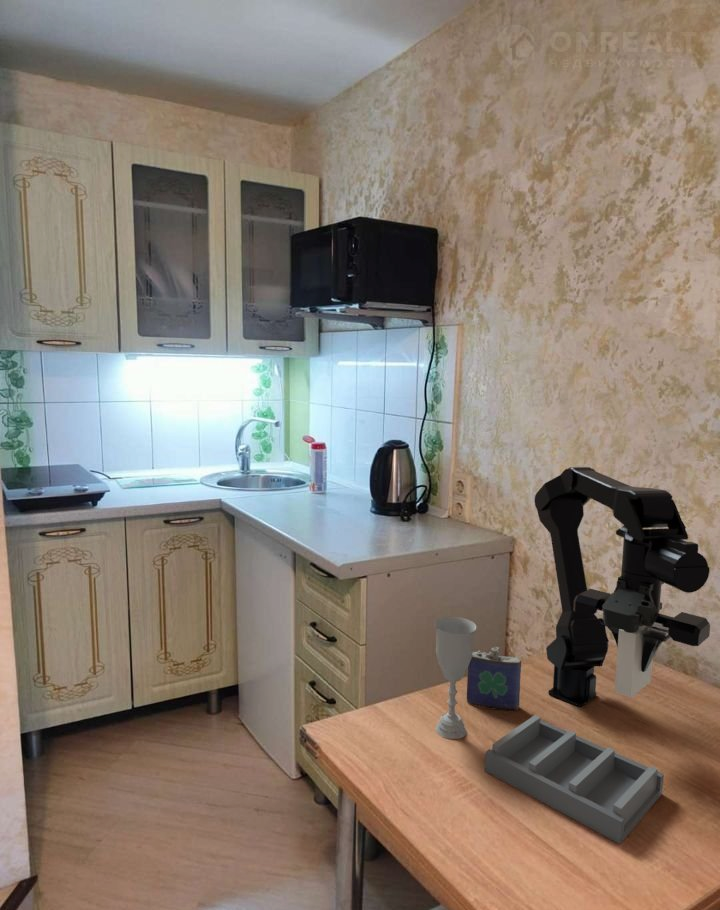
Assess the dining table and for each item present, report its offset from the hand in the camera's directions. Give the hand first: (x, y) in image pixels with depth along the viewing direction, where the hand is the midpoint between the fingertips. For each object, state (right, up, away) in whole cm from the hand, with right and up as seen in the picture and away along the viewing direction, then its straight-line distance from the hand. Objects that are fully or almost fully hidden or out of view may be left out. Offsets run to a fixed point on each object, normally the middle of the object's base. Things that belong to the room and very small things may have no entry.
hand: (634, 667), depth 97 cm
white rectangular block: (0, -3, 0) cm, 3 cm away
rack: (-13, -14, -8) cm, 20 cm away
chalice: (-28, -12, +5) cm, 31 cm away
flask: (-19, -11, +13) cm, 26 cm away
